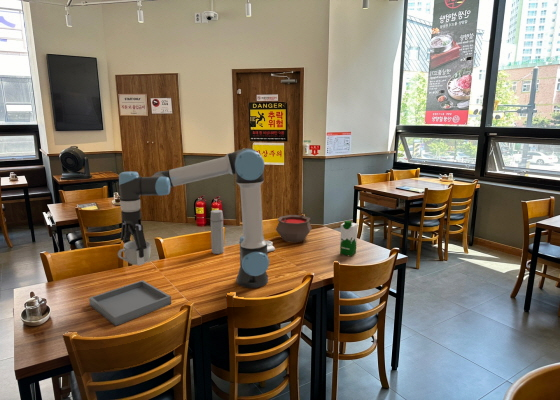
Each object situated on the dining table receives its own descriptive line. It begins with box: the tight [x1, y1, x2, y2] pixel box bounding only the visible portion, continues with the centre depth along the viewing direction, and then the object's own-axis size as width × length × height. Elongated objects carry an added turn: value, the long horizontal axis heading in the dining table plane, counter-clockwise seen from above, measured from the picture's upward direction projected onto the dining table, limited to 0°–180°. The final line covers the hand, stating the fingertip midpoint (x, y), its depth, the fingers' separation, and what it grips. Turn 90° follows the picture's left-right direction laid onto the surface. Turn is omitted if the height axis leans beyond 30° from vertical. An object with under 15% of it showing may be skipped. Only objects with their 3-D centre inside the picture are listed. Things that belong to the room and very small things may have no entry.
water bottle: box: [210, 209, 225, 255], centre depth 220 cm, size 9×8×25 cm
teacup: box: [117, 240, 152, 266], centre depth 157 cm, size 14×11×8 cm
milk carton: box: [339, 220, 359, 257], centre depth 219 cm, size 9×9×20 cm
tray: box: [88, 279, 172, 327], centre depth 159 cm, size 24×24×4 cm
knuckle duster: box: [265, 240, 276, 253], centre depth 227 cm, size 3×18×15 cm
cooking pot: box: [275, 211, 312, 243], centre depth 245 cm, size 24×24×16 cm
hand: (134, 260), depth 158 cm, fingers closed on teacup, 11 cm apart
